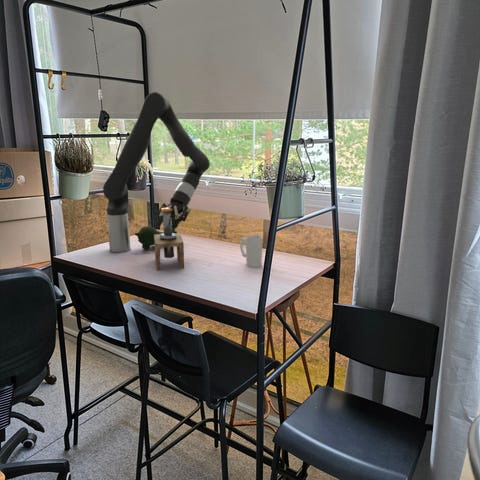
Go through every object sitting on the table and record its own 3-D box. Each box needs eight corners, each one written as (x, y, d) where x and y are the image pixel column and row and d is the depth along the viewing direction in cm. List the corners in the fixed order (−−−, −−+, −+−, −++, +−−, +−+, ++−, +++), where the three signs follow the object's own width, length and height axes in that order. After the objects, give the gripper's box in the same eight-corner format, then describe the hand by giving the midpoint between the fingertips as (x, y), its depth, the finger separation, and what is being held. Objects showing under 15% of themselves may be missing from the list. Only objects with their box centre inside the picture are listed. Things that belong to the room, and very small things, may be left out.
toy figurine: (167, 243, 217) (128, 250, 198) (168, 206, 214) (128, 209, 194) (181, 246, 212) (141, 253, 192) (182, 208, 208) (141, 211, 188)
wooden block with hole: (156, 270, 171) (155, 244, 168) (155, 259, 186) (154, 234, 183) (184, 268, 173) (183, 242, 171) (180, 257, 188) (179, 233, 186)
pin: (161, 259, 175) (158, 210, 170) (160, 254, 181) (158, 207, 176) (178, 258, 177) (175, 209, 171) (176, 253, 183) (174, 206, 178)
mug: (265, 264, 178) (265, 236, 175) (256, 268, 173) (256, 239, 170) (245, 260, 184) (245, 233, 181) (236, 264, 178) (235, 236, 175)
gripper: (165, 188, 182) (147, 219, 176) (191, 191, 174) (173, 223, 168) (174, 199, 187) (157, 229, 181) (200, 202, 180) (183, 234, 173)
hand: (165, 226), depth 174 cm, fingers open, 8 cm apart
